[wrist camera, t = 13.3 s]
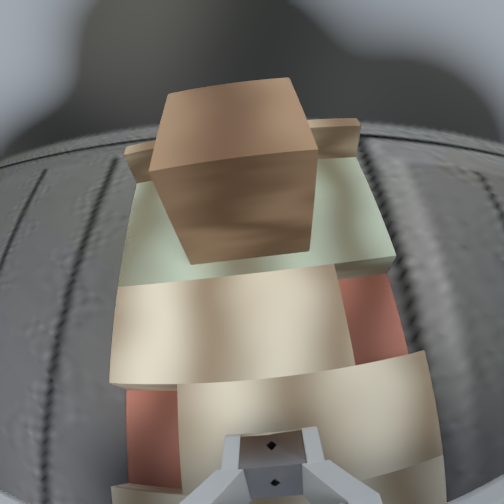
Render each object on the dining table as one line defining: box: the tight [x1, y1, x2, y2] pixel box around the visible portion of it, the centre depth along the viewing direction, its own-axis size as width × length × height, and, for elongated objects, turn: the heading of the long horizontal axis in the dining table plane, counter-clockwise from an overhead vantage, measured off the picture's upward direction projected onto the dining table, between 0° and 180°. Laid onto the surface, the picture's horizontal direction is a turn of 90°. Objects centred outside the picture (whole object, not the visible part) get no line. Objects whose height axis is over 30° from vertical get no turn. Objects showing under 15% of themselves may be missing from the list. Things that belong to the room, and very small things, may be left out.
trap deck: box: [109, 118, 447, 504], centre depth 14 cm, size 17×32×6 cm, turn 5°
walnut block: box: [149, 78, 318, 265], centre depth 17 cm, size 7×7×8 cm
